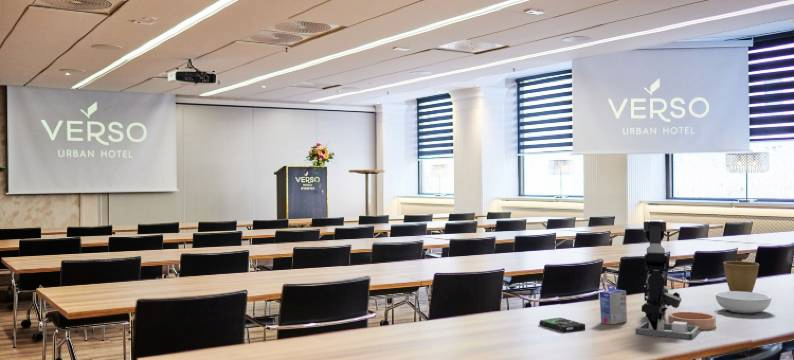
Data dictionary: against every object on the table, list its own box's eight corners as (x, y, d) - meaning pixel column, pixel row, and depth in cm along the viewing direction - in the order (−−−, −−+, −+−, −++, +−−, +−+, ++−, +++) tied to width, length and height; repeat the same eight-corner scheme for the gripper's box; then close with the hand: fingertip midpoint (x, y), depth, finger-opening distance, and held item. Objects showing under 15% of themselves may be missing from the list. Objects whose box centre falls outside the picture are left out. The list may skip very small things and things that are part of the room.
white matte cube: (648, 331, 263) (648, 320, 263) (651, 329, 267) (651, 318, 267) (661, 333, 261) (661, 322, 261) (664, 330, 264) (663, 319, 264)
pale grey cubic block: (671, 334, 259) (671, 323, 259) (674, 332, 262) (674, 321, 262) (684, 335, 256) (684, 324, 256) (687, 333, 260) (687, 322, 260)
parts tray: (635, 333, 260) (635, 328, 260) (645, 326, 273) (645, 321, 273) (692, 339, 250) (691, 334, 250) (699, 331, 263) (699, 326, 263)
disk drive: (586, 331, 268) (560, 324, 281) (586, 324, 268) (560, 316, 281) (563, 334, 263) (538, 326, 276) (563, 326, 263) (538, 319, 276)
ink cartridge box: (616, 319, 286) (615, 283, 286) (627, 321, 281) (627, 284, 281) (599, 322, 280) (599, 285, 280) (610, 325, 276) (610, 287, 276)
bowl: (664, 326, 272) (664, 317, 272) (674, 319, 285) (673, 310, 285) (711, 331, 263) (711, 321, 263) (718, 323, 277) (718, 314, 277)
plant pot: (720, 298, 332) (720, 263, 332) (727, 294, 344) (726, 260, 344) (756, 301, 324) (756, 265, 324) (761, 296, 336) (761, 262, 336)
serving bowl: (716, 314, 294) (716, 297, 294) (714, 306, 314) (714, 290, 314) (773, 317, 287) (773, 300, 287) (768, 308, 306) (768, 292, 306)
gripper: (673, 290, 251) (674, 335, 251) (684, 283, 267) (684, 326, 267) (640, 288, 257) (641, 332, 257) (653, 281, 273) (653, 323, 273)
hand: (656, 328), depth 264 cm, fingers closed on white matte cube, 4 cm apart
